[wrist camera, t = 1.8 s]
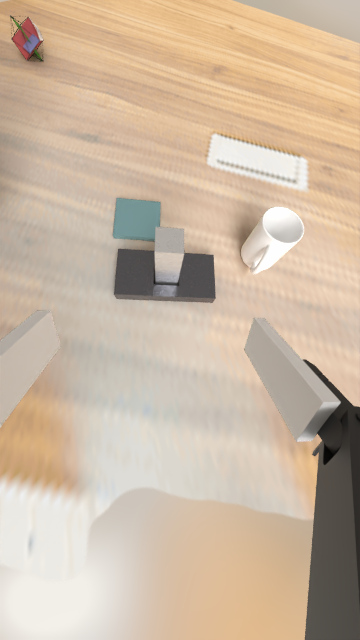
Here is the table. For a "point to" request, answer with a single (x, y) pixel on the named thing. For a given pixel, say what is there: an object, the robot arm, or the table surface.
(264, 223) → the mug
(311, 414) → the robot arm
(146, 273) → the block
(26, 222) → the table surface
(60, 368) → the table surface
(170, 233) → the steel peg
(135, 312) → the table surface
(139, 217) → the teal mat
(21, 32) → the geometric puzzle
